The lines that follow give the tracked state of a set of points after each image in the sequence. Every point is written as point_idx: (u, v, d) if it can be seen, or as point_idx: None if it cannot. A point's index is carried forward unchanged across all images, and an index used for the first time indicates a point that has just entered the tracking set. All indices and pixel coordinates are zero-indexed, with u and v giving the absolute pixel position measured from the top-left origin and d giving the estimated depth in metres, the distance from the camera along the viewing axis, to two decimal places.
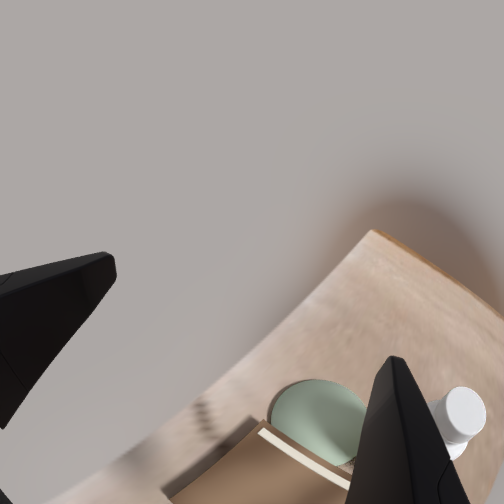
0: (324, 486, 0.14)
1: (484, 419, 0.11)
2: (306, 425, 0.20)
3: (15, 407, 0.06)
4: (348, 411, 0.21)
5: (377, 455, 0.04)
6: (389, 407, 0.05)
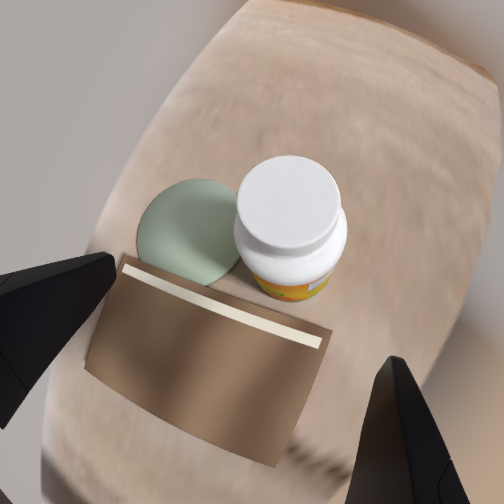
0: (195, 314, 0.18)
1: (334, 212, 0.10)
2: (170, 242, 0.21)
3: (15, 407, 0.06)
4: (216, 208, 0.21)
5: (377, 455, 0.04)
6: (389, 407, 0.05)
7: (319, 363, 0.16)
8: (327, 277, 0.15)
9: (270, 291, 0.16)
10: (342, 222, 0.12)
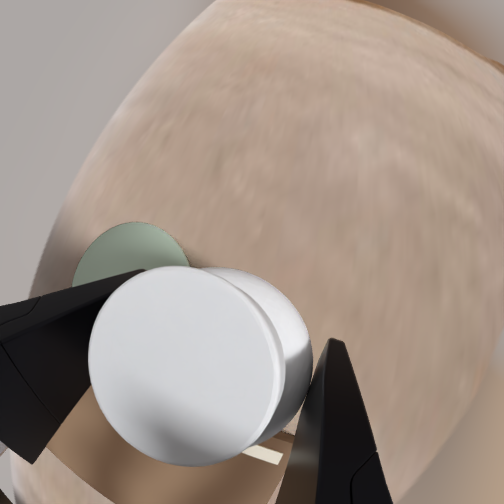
0: None
1: (259, 418, 0.04)
2: None
3: (46, 441, 0.05)
4: (154, 267, 0.15)
5: (303, 438, 0.05)
6: (317, 388, 0.05)
7: (279, 478, 0.10)
8: None
9: None
10: (301, 370, 0.06)
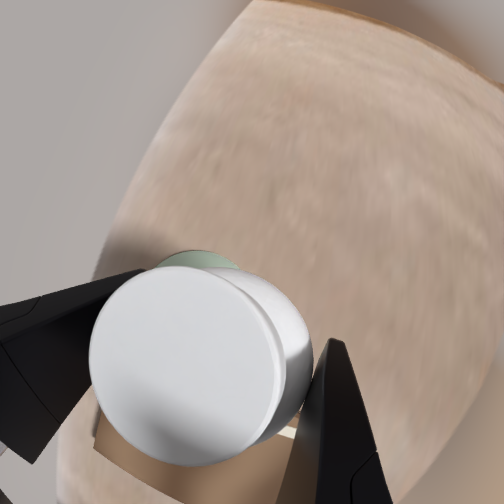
0: None
1: (260, 418, 0.04)
2: None
3: (46, 441, 0.05)
4: None
5: (303, 438, 0.05)
6: (317, 388, 0.05)
7: None
8: None
9: None
10: (302, 370, 0.06)
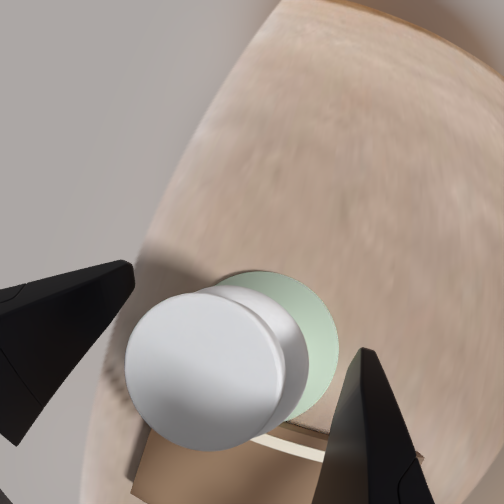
0: (277, 458, 0.12)
1: (266, 411, 0.05)
2: None
3: (29, 424, 0.05)
4: None
5: (342, 448, 0.05)
6: (355, 399, 0.05)
7: None
8: None
9: None
10: (299, 373, 0.08)
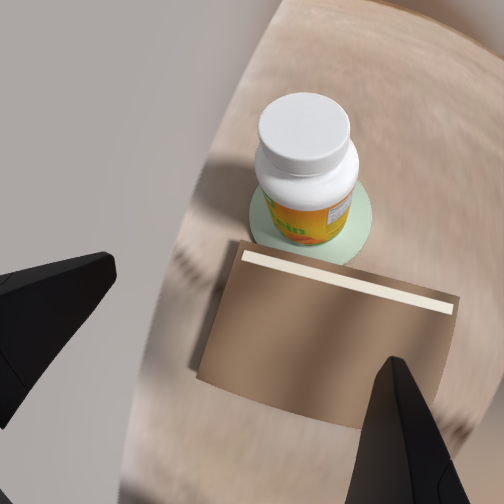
0: (339, 296, 0.17)
1: (345, 131, 0.10)
2: None
3: (15, 407, 0.06)
4: None
5: (377, 455, 0.04)
6: (389, 407, 0.05)
7: (452, 328, 0.15)
8: (344, 210, 0.15)
9: (291, 230, 0.17)
10: (353, 151, 0.13)
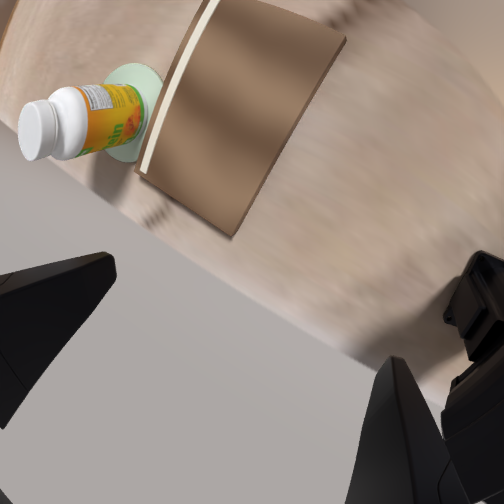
0: (180, 97, 0.17)
1: (32, 106, 0.11)
2: None
3: (15, 408, 0.06)
4: None
5: (377, 455, 0.04)
6: (389, 407, 0.05)
7: None
8: (104, 94, 0.15)
9: (117, 134, 0.18)
10: (57, 92, 0.13)
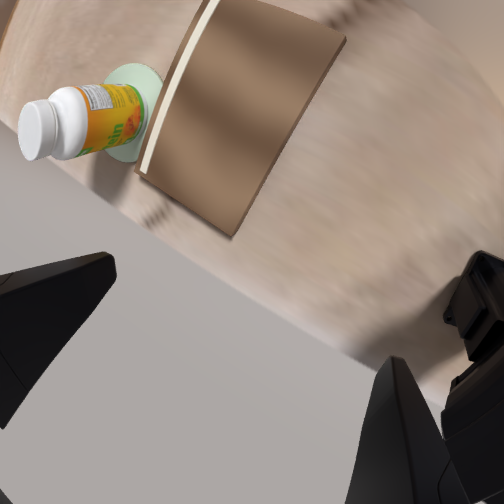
0: (180, 97, 0.17)
1: (32, 106, 0.11)
2: None
3: (15, 407, 0.06)
4: None
5: (377, 455, 0.04)
6: (389, 407, 0.05)
7: None
8: (104, 93, 0.15)
9: (117, 134, 0.18)
10: (57, 92, 0.13)
